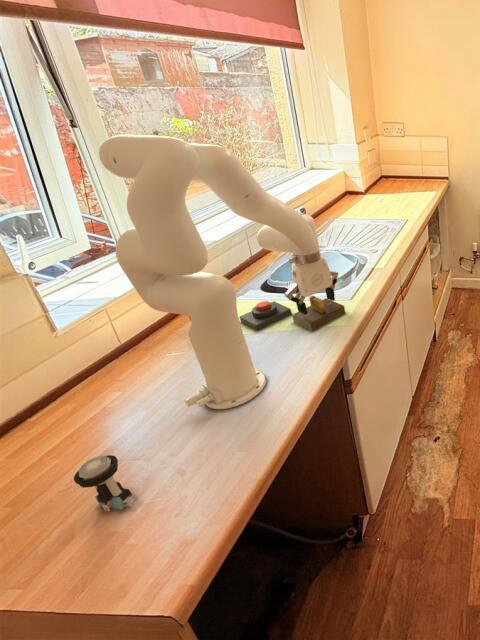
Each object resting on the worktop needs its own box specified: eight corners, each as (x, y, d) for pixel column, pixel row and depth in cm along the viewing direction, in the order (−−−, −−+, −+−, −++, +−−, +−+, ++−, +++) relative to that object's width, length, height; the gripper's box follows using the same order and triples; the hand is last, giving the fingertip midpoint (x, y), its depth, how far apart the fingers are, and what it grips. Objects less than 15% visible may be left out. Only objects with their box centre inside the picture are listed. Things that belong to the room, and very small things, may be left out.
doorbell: (257, 331, 120) (254, 320, 118) (241, 322, 124) (237, 311, 122) (291, 314, 129) (289, 303, 127) (275, 306, 133) (272, 296, 131)
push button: (150, 492, 73) (129, 454, 69) (120, 521, 69) (96, 482, 65) (119, 487, 74) (97, 449, 70) (87, 515, 69) (61, 476, 65)
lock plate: (312, 331, 120) (310, 323, 119) (294, 322, 124) (291, 314, 123) (345, 313, 130) (343, 305, 128) (327, 305, 134) (326, 297, 132)
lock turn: (325, 311, 125) (323, 299, 123) (321, 313, 124) (319, 301, 122) (315, 306, 127) (313, 295, 126) (311, 308, 126) (309, 297, 125)
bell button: (261, 313, 123) (260, 308, 122) (255, 309, 124) (253, 304, 124) (273, 307, 125) (271, 303, 125) (266, 304, 127) (265, 299, 126)
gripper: (286, 270, 110) (299, 322, 117) (340, 249, 123) (348, 297, 130) (271, 264, 113) (284, 315, 120) (324, 244, 127) (333, 291, 134)
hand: (317, 306), depth 125 cm, fingers open, 9 cm apart
